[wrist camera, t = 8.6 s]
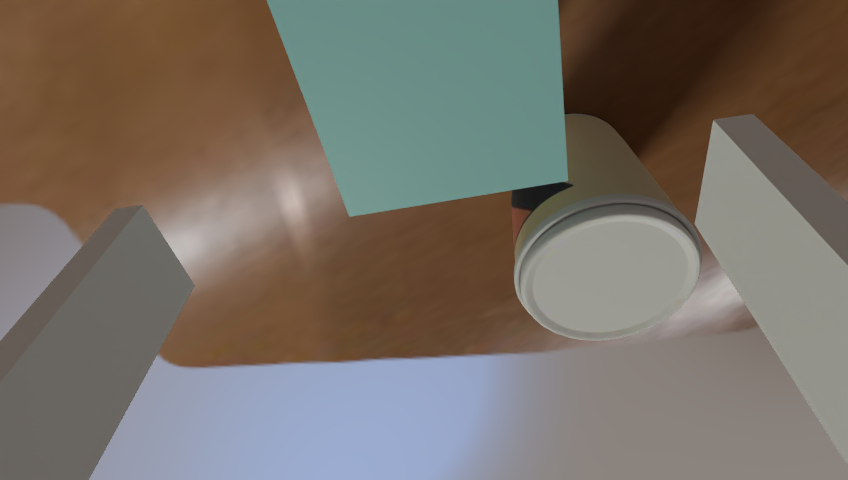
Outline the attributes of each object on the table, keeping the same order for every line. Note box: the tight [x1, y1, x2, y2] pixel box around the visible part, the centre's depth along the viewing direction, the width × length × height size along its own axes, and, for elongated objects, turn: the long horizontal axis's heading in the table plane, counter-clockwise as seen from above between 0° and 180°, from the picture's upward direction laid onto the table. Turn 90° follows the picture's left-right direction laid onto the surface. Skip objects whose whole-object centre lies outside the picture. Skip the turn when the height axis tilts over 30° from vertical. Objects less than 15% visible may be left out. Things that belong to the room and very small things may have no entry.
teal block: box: [267, 0, 568, 217], centre depth 21 cm, size 9×9×7 cm
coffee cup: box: [511, 114, 702, 340], centre depth 31 cm, size 9×9×12 cm
